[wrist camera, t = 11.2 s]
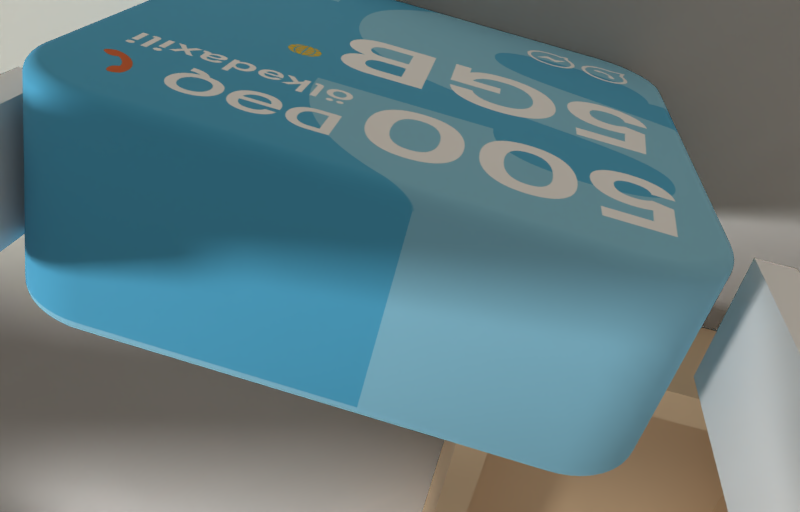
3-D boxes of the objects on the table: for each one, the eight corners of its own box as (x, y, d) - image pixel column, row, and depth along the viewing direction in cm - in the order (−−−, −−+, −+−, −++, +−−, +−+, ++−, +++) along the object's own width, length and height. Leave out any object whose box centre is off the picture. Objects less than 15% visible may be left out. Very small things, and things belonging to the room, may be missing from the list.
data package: (655, 73, 21) (764, 295, 11) (596, 212, 24) (640, 506, 13) (247, -45, 22) (-27, 62, 11) (227, 104, 24) (-16, 308, 13)
